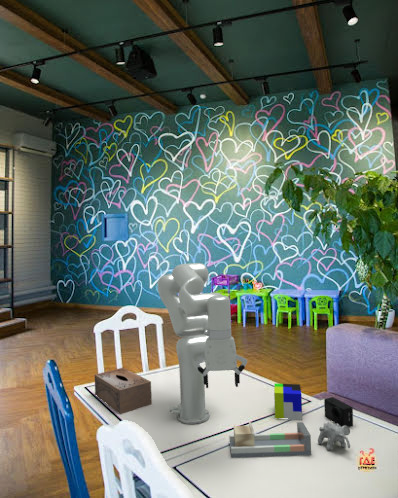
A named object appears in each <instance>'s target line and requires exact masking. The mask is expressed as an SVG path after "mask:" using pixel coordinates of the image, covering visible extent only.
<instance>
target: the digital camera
mask: <svg viewBox="0 0 398 498" xmlns="http://www.w3.org/2000/svg"><path fill="white" fill-rule="evenodd" d="M323 400H324V401H323V405H324V417H325V418H326V419H328V420H330V421H331V422H333V424H337V423H338V424H339V425H340V426H341V427H342V426H345V425H346V426H348V427H349V428H351V427H353V426H354V414H353V413H354V410H353V409H354V408H353V407H352V406H351V405H349V404H347V403H345V402H343V401H341V400H340V399H338V398H335V397H334V396H331V397H329V398H324V399H323Z"/></svg>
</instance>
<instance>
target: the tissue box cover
mask: <svg viewBox="0 0 398 498" xmlns="http://www.w3.org/2000/svg"><path fill="white" fill-rule="evenodd" d="M94 393H95V394H94V395H97V396H98V397H99V398H100V399H102V400H103V401H104V402H106V403H107V404H108V405H107V404H106V403H105V404H106V405H107V406H108V407H110V406H111V407H112V408H111V407H110V408H111V409H113V410H114V411H116V412H117V414H119V415H123V414H126V413H128V412H133V411H135V410H138V409H142V408H145V407H148V406H150V405H152V403H153V402H152V401H153V400H152V381H150V380H148V379H147V378H145V377H143V376H141V375H139V374H138V373H135V372H133V371H132V370H128V368H125V367H121V368H116V369H115V368H114V369H113V370H109V371H104V372H99V373H96V374H94ZM98 397H97V398H98ZM99 398H98V399H99ZM100 399H99V400H100ZM102 400H101V401H102ZM103 401H102V402H103ZM104 402H103V403H104Z"/></svg>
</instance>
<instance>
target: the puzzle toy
mask: <svg viewBox="0 0 398 498" xmlns="http://www.w3.org/2000/svg"><path fill="white" fill-rule="evenodd" d="M273 388H274V391H273V392H274V393H273V395H274V398H273V399H274V419H275V418H288V419H290V420H289V421H303V402H302V401H303V399H302V388H301V384H300V383H298V384H297V383H296V384H295V383H274V387H273Z"/></svg>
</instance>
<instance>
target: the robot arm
mask: <svg viewBox="0 0 398 498" xmlns="http://www.w3.org/2000/svg"><path fill="white" fill-rule="evenodd" d="M171 271H172V272H171V273H169V274H168V273H167V274H164V275H162V276H161V277H159V279H158V280H157V291H158V294H159V295H158V296H159V298H160V301H161V302H162V303H163V305H164V306H165V308H166V310H167V312H168V315H169V318H170V322H171V325H172V329H173V331H174V333H175V335H176V336H177V337H179V338H180V339H178V340H177V342H176V345H175V346H176V347H175V349H176V354H177V360H178V366H179V367H178V368H179V369H178V370H179V389H180V392H179V393H180V403H179V404H178V405H177V406H171V405H170V406H169V412H171V414H172V415H173V414H176V415H177V416H176V418H177V420H178V422H181V423H183V424H187V425H195V424H196V425H198V424H202V423H204V422H206V421H208V420H209V418H210V410H207V409H206V396H205V395H206V394H205V393H206V391H205V389H208V388H209V375H208V374H209V371H210V372H217V371H218V372H219V371H234V386H235V387H236V388H238V387H239V384H240V383H241V379H240V378H241V377H240V375H241V373H242V372H243V371H244V370H245V367H246V366H247V363H248V359H247V358H245V357H243V356H241V355H239V354H237V349H236V348H237V347H236V342H235V338H234V337H233V336H232V321H231V320H232V318H231V315H232V314H231V301H230V298H229V296H227V295H222V293H220V292H205V293H202V292H203V291H204V287H205V284H206V283H207V282H208V279H209V275H210V274H209V270H208V268H207V266H206V264H204V263H202V262H201V263H200V262H195V263H193V262H192V263H191V262H190V263H181V264H178V265H176V266H175V267H174V268H173V269H172V270H171ZM177 294H178V295H177ZM238 361H240V362H241V363H240V365H239V366H238ZM203 362H204V363H205V364H204V365H205V367H204V368H203V366H201V363H203Z"/></svg>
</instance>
